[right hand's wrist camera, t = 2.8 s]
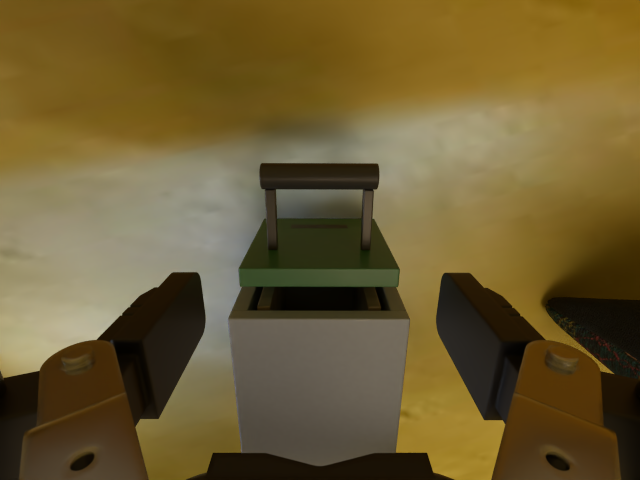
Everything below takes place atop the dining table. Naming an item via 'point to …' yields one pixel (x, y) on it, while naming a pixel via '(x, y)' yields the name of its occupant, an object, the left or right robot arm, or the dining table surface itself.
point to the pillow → (603, 329)
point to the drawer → (319, 246)
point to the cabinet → (318, 378)
